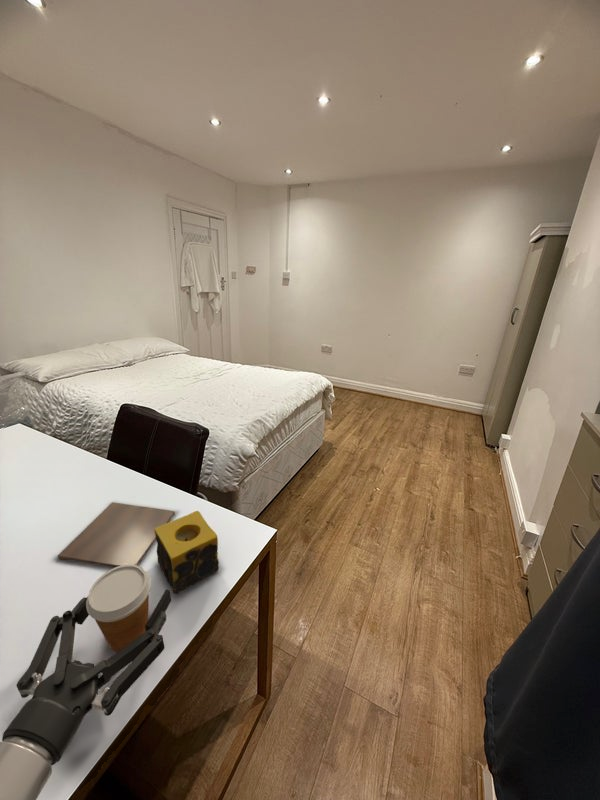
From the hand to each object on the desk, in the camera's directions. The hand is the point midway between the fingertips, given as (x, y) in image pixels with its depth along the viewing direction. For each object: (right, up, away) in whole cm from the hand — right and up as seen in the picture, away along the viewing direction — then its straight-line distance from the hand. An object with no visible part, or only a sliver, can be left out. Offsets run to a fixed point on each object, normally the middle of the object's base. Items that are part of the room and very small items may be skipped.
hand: (136, 589), depth 58 cm
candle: (+5, -3, +13) cm, 14 cm away
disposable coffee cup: (-1, -8, -1) cm, 8 cm away
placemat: (-14, +2, +20) cm, 24 cm away
